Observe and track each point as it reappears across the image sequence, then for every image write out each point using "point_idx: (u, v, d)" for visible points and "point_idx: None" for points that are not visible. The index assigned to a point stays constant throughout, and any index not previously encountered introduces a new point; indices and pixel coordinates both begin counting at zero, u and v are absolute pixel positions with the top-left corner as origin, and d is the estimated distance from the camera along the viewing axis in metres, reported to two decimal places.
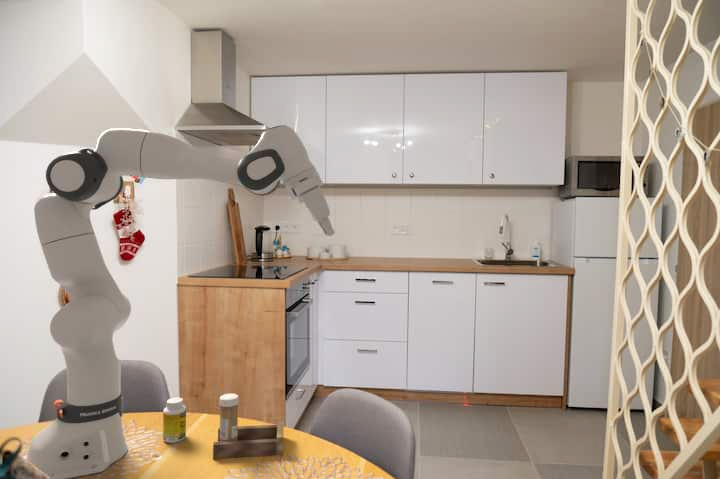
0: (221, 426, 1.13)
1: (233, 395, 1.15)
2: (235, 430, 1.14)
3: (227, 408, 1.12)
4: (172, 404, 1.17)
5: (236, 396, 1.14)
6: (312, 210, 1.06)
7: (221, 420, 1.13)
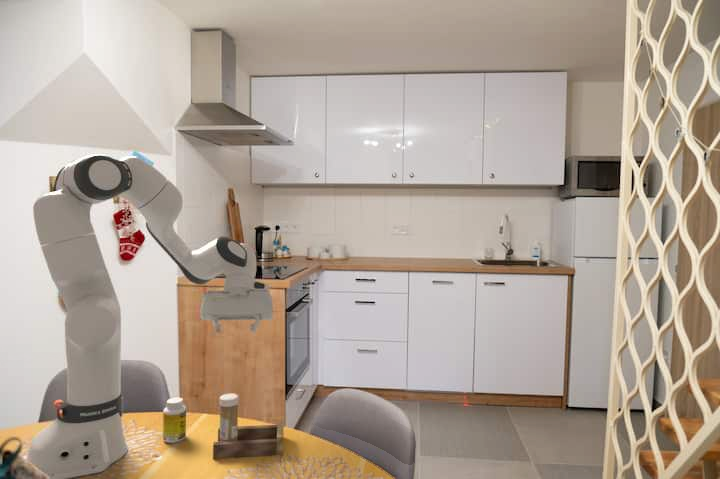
0: (221, 426, 1.13)
1: (233, 395, 1.15)
2: (235, 430, 1.14)
3: (227, 408, 1.12)
4: (172, 404, 1.17)
5: (236, 396, 1.14)
6: (272, 305, 1.31)
7: (221, 420, 1.13)
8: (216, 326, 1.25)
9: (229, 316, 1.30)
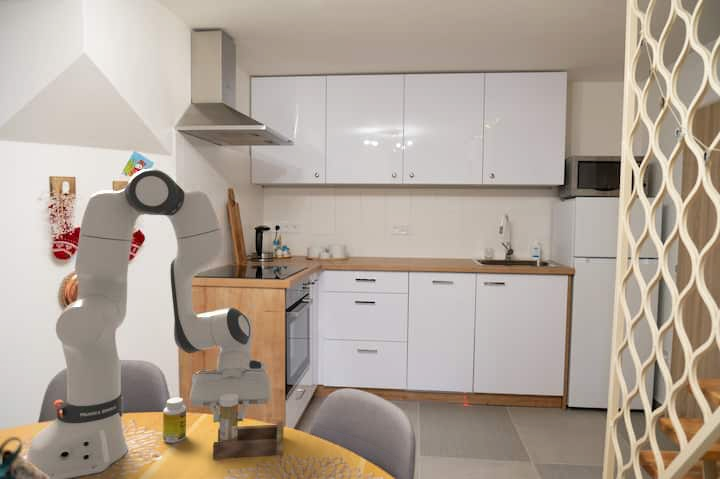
0: (221, 426, 1.13)
1: (233, 395, 1.15)
2: (235, 430, 1.14)
3: (227, 408, 1.12)
4: (172, 404, 1.17)
5: (236, 396, 1.14)
6: None
7: (221, 420, 1.13)
8: (215, 415, 1.13)
9: None
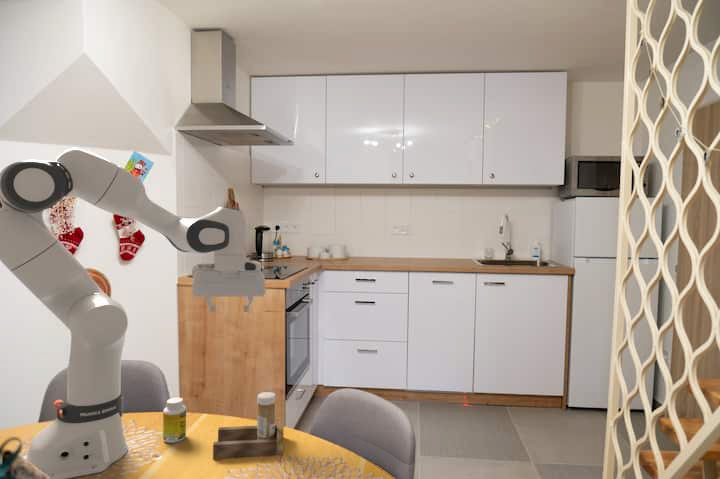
0: (259, 424, 1.14)
1: (270, 393, 1.16)
2: (273, 428, 1.15)
3: (265, 406, 1.14)
4: (172, 404, 1.17)
5: (273, 394, 1.16)
6: (264, 286, 1.31)
7: (259, 418, 1.14)
8: (210, 308, 1.29)
9: None
